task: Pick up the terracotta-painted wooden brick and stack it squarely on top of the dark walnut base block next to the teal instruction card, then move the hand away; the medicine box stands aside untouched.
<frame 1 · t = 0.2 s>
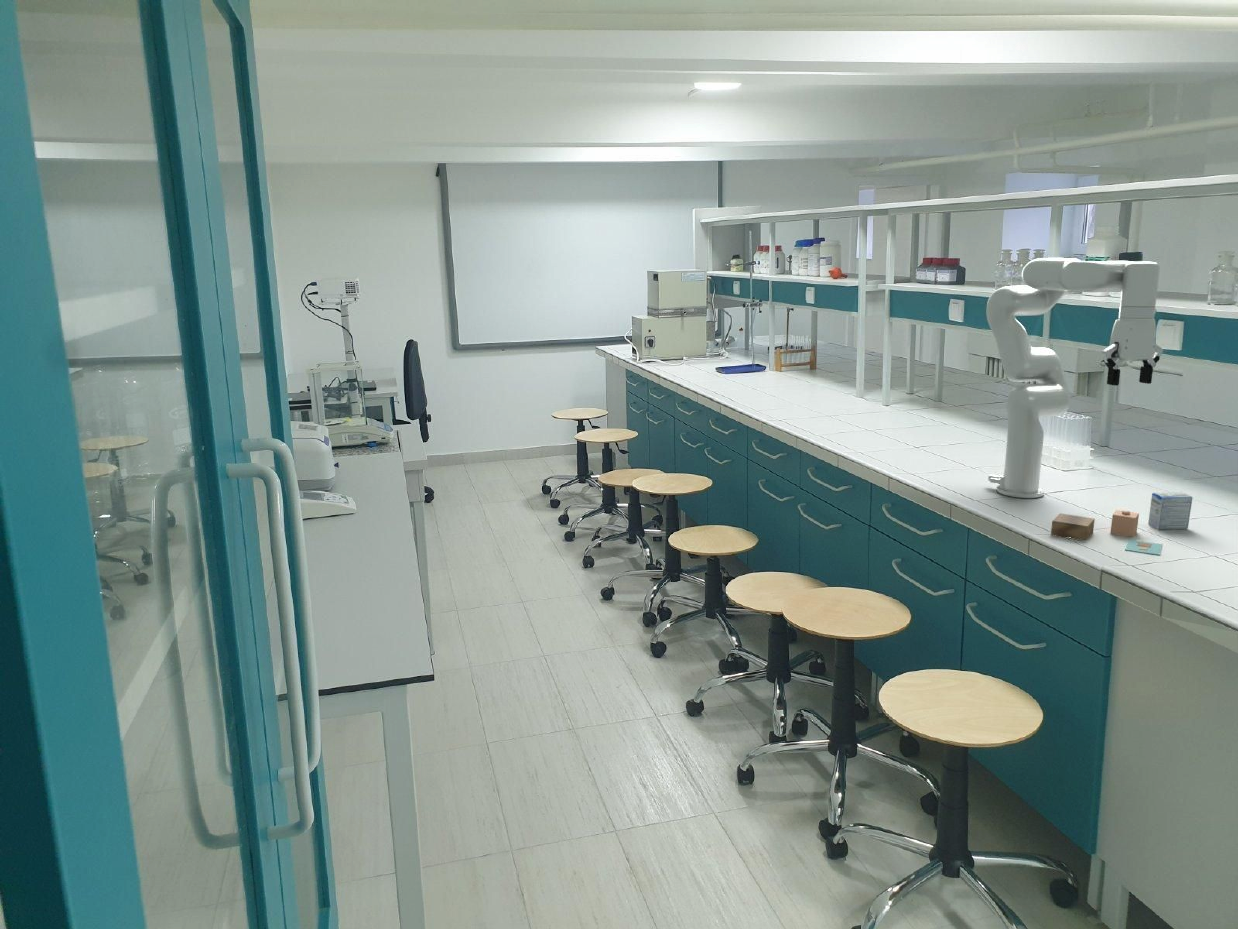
hand: (1128, 383, 226), 36 cm above the worktop, tool pointing down, fingers open, 9 cm apart
instruction card: (1143, 547, 217), on the worktop
painted brick: (1123, 533, 228), on the worktop
walnut block: (1071, 535, 228), on the worktop
medicine box: (1167, 527, 233), on the worktop
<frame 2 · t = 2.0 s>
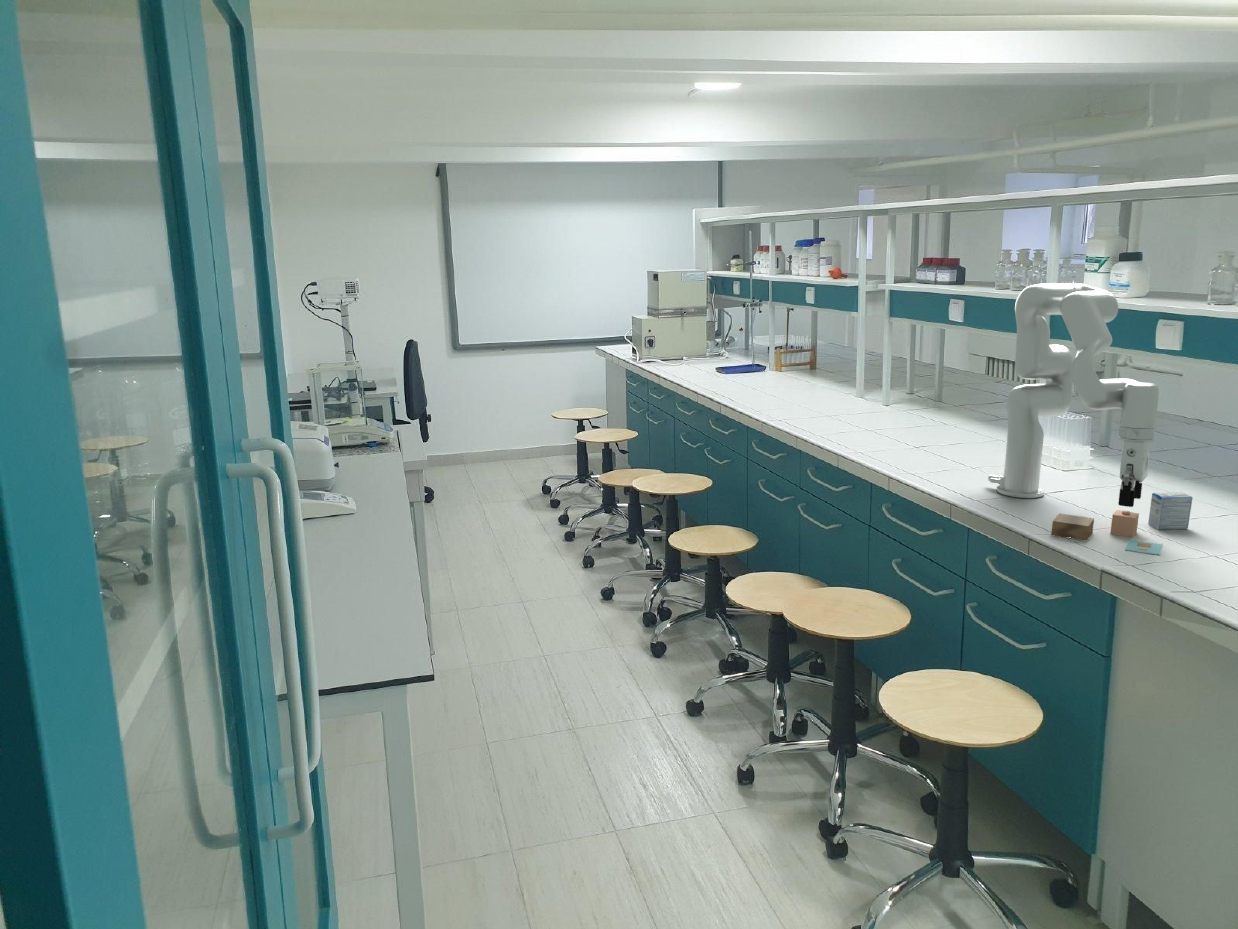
hand: (1129, 501, 226), 8 cm above the worktop, tool pointing down, fingers open, 9 cm apart
nothing on the worktop moved.
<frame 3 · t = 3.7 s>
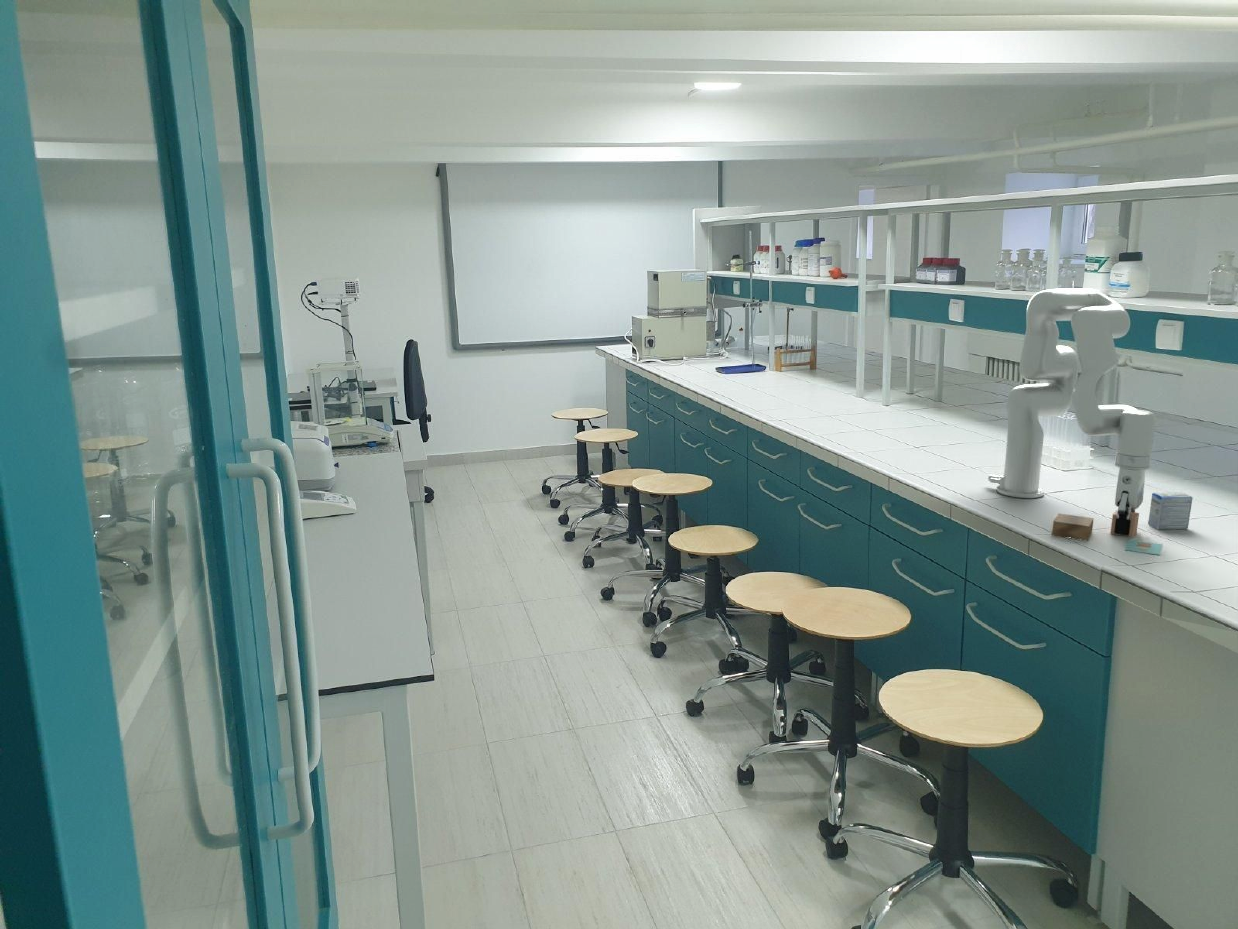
hand: (1123, 530, 228), 0 cm above the worktop, tool pointing down, fingers closed on painted brick, 5 cm apart
painted brick: (1123, 532, 228), on the worktop, touching gripper
everything else where it was.
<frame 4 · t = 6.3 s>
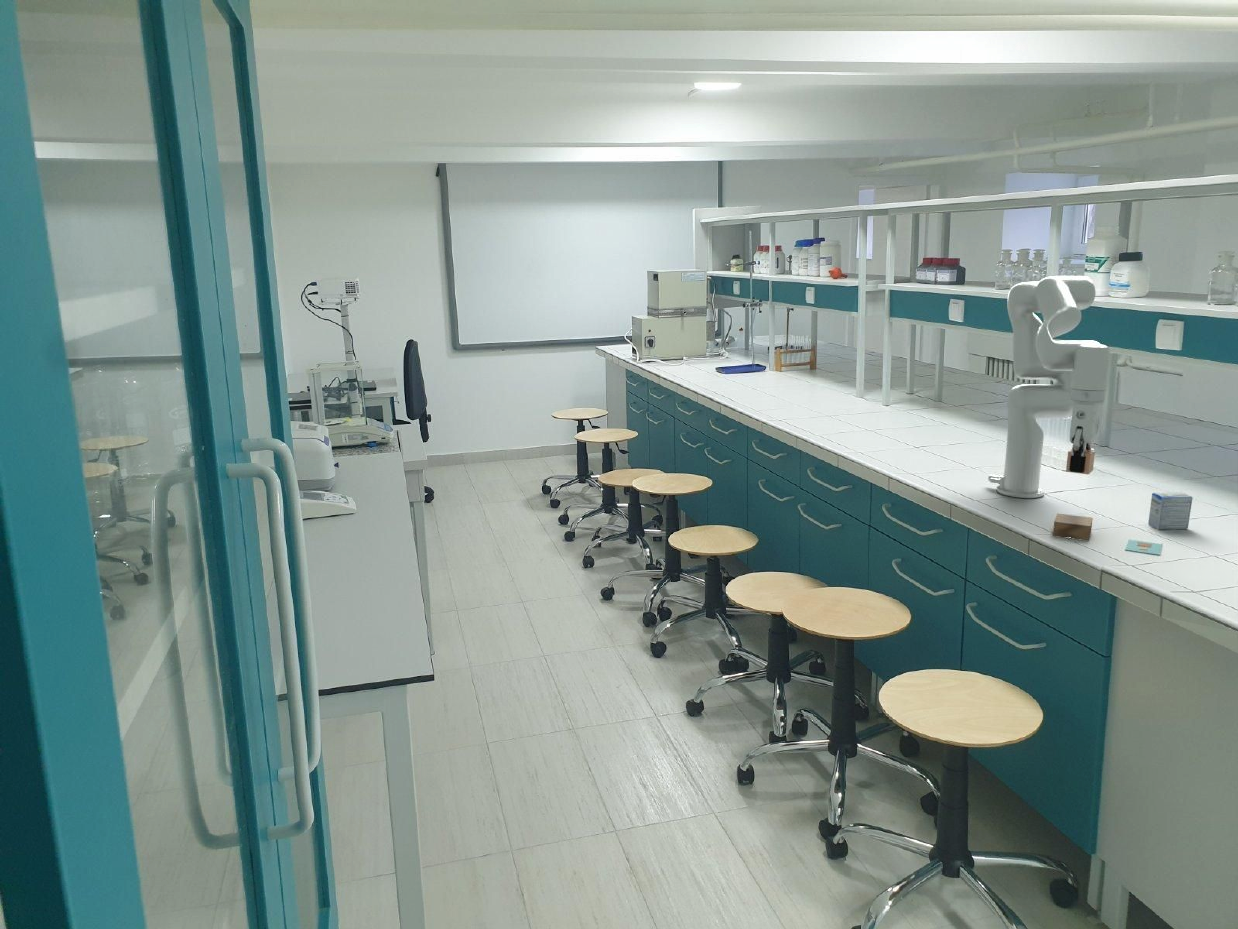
hand: (1079, 468, 224), 17 cm above the worktop, tool pointing down, fingers closed on painted brick, 5 cm apart
painted brick: (1079, 471, 224), point 16 cm above the worktop, touching gripper
everything else where it was.
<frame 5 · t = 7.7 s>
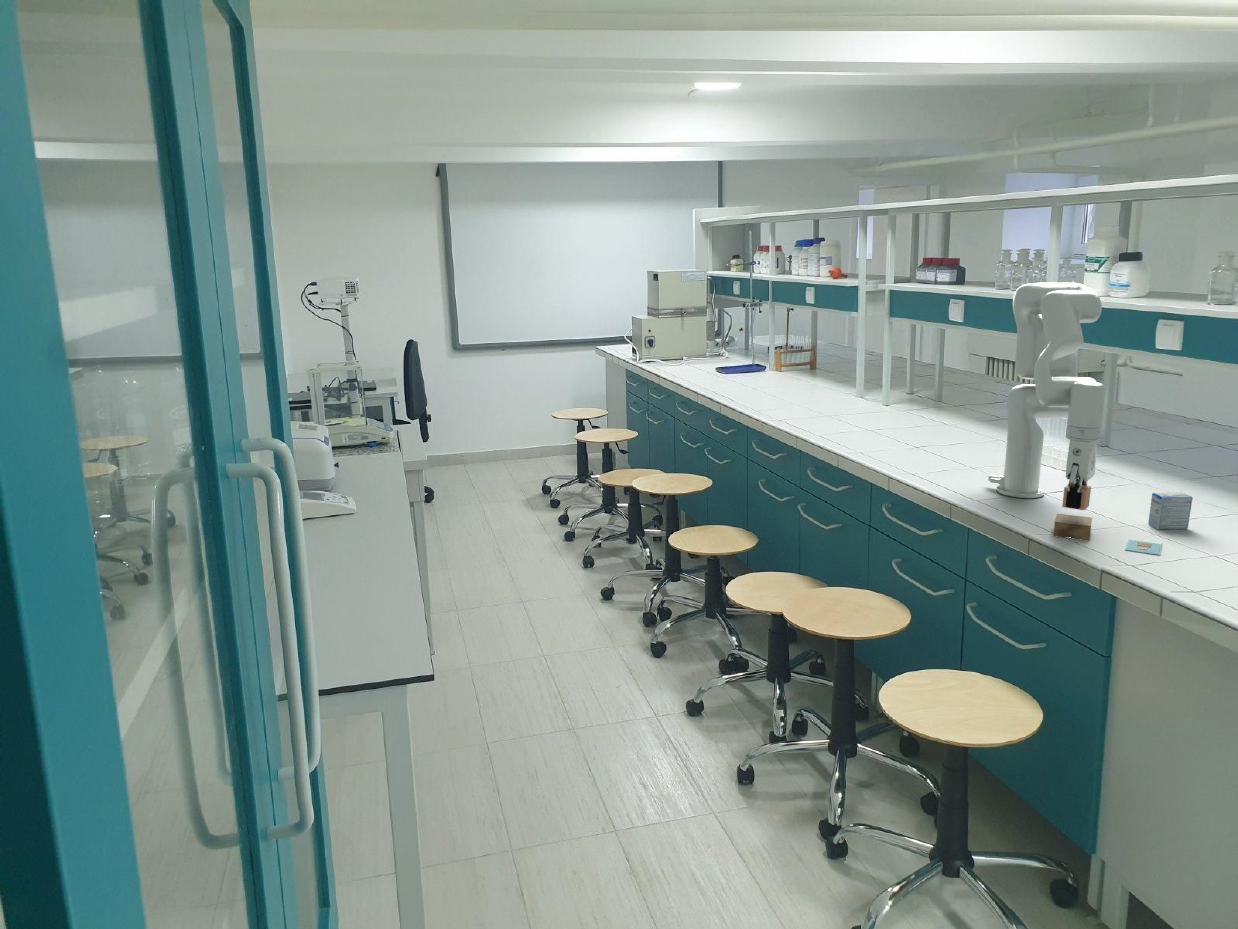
hand: (1075, 504, 226), 8 cm above the worktop, tool pointing down, fingers closed on painted brick, 5 cm apart
painted brick: (1075, 506, 226), point 7 cm above the worktop, touching gripper
everything else where it was.
when the fingers open (5 cm above the worktop, at t = 9.0 s): painted brick drops 1 cm, resting on walnut block.
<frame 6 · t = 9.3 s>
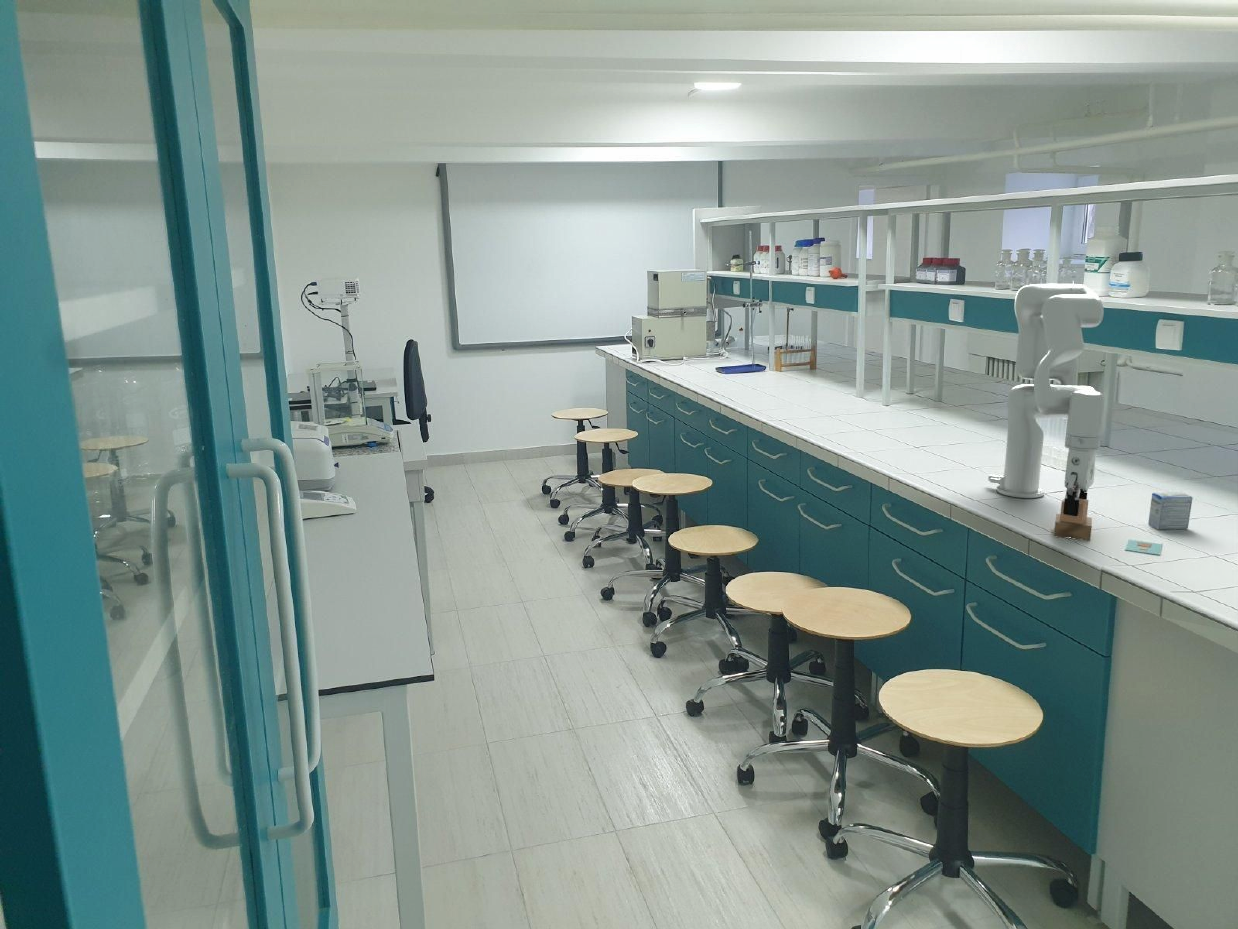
hand: (1074, 510, 226), 6 cm above the worktop, tool pointing down, fingers open, 8 cm apart
painted brick: (1073, 519, 227), point 4 cm above the worktop, touching walnut block
walnut block: (1071, 535, 228), on the worktop, touching painted brick
everything else where it was.
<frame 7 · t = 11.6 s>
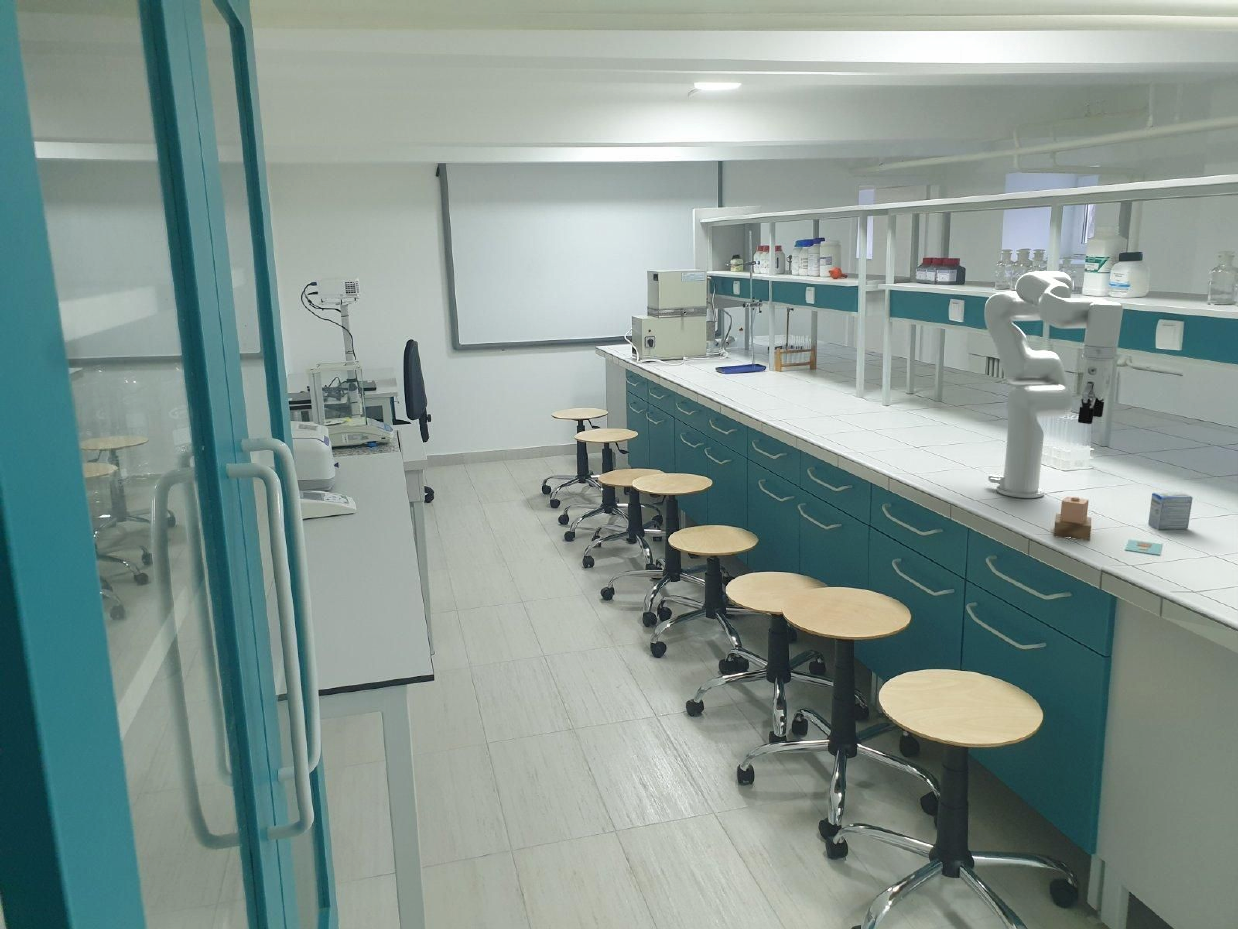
hand: (1090, 419, 232), 27 cm above the worktop, tool pointing down, fingers open, 9 cm apart
nothing on the worktop moved.
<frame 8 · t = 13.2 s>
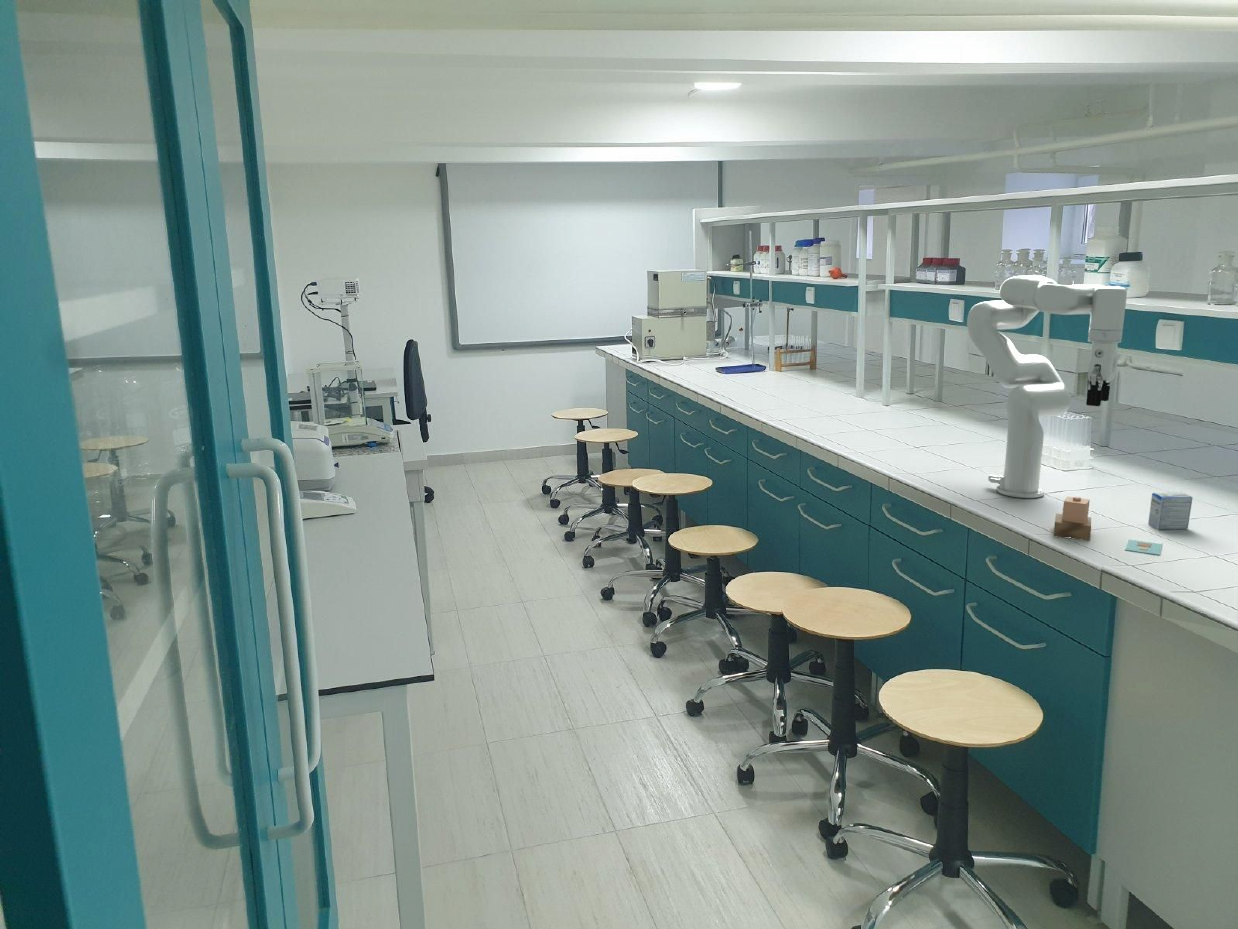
hand: (1097, 403, 235), 30 cm above the worktop, tool pointing down, fingers open, 9 cm apart
painted brick: (1074, 519, 227), point 4 cm above the worktop
walnut block: (1071, 535, 228), on the worktop
everything else where it was.
at the end: painted brick 0.4 cm off-centre on the walnut block, point 4.0 cm above the walnut block's base; painted brick tilted 0°; the gripper is holding nothing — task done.
